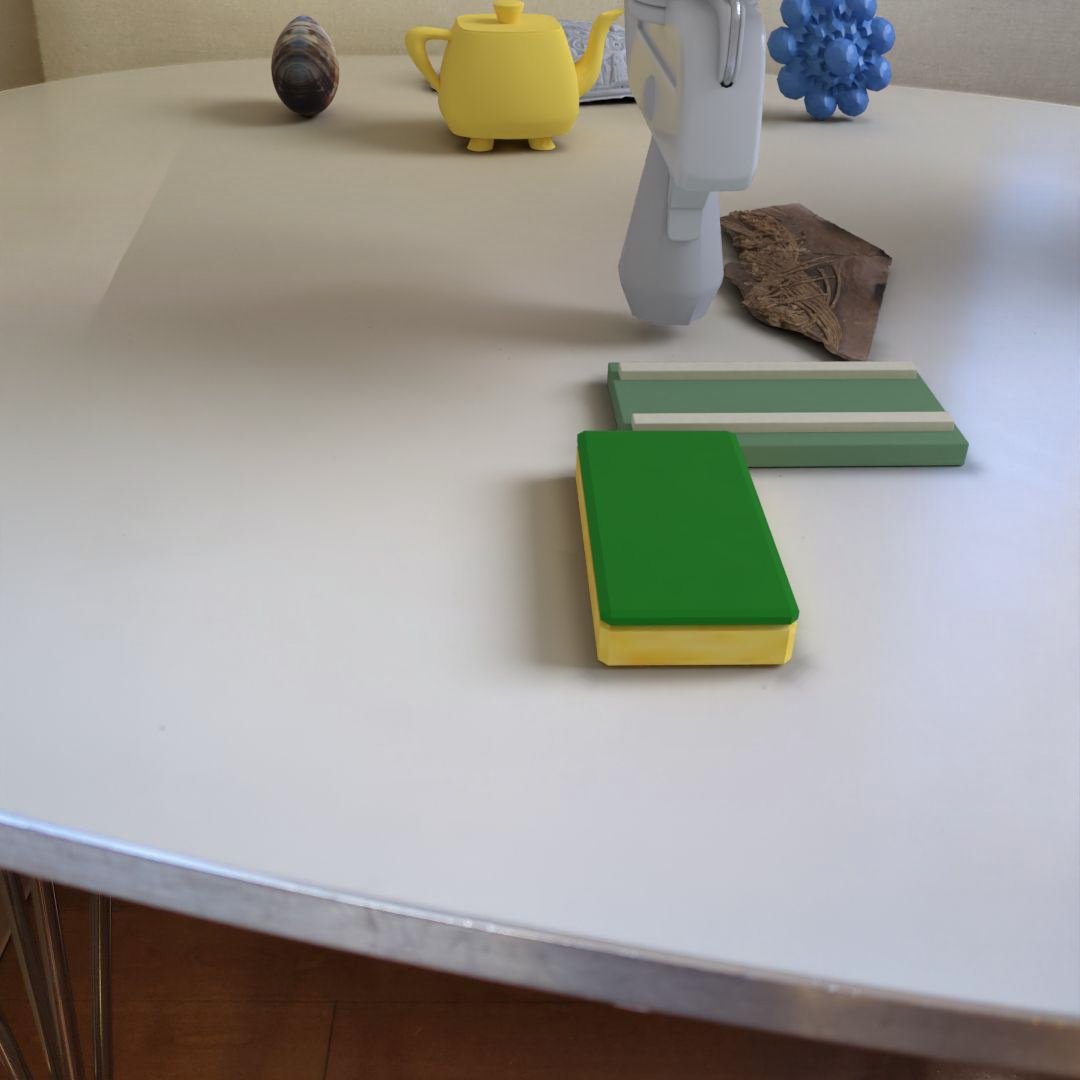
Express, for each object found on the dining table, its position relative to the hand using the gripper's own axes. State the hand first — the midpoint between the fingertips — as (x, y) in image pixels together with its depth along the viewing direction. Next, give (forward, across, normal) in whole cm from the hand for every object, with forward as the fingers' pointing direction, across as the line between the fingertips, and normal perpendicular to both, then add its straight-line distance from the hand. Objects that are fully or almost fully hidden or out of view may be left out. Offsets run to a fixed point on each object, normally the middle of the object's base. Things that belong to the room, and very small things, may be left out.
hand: (675, 223), depth 65 cm
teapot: (+7, +40, +7) cm, 41 cm away
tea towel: (+6, -11, -4) cm, 13 cm away
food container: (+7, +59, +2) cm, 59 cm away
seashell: (+6, +47, +25) cm, 54 cm away
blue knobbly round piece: (+7, +46, -21) cm, 51 cm away
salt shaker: (+5, 0, 0) cm, 5 cm away
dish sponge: (+6, -23, +3) cm, 24 cm away
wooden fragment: (+6, +8, -10) cm, 14 cm away
